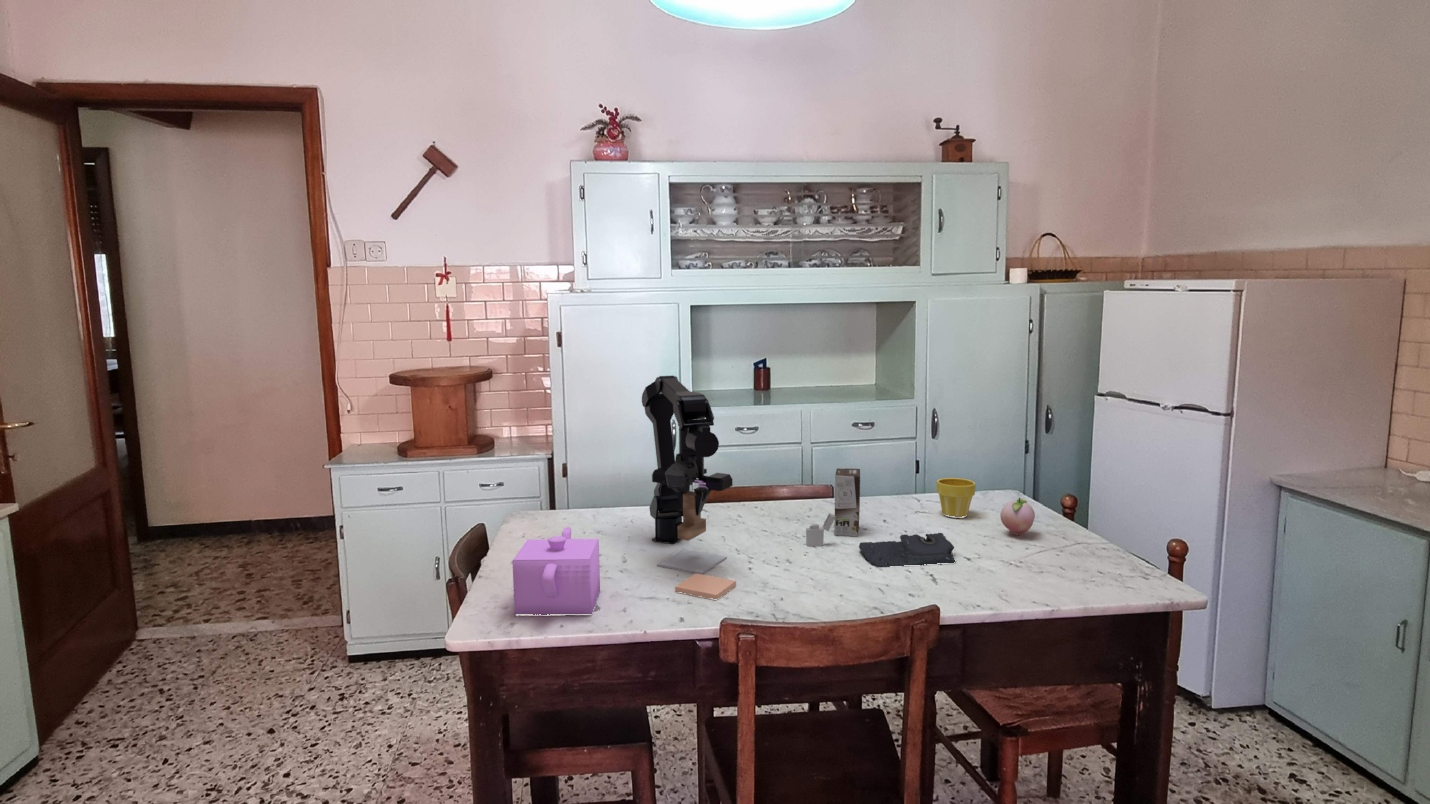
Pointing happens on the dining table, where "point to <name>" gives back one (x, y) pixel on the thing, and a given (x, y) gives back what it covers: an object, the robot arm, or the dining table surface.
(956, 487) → the plant pot
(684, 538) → the brown stepped wooden block
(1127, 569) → the dining table surface
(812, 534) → the lighter
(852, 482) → the coffee box
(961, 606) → the dining table surface
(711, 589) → the tile
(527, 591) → the teapot
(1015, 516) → the decorative fruit
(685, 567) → the mat
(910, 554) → the dark grey folded shirt
